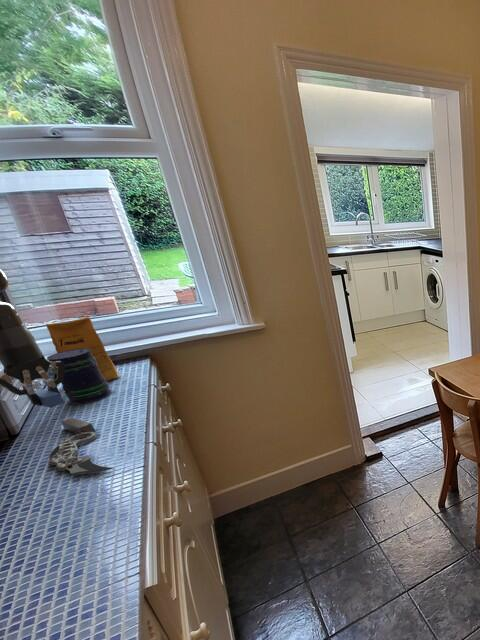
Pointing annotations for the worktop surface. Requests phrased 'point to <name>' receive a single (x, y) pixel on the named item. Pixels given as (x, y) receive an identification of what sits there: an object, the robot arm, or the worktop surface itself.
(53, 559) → the worktop surface
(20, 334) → the robot arm
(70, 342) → the coffee package
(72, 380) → the storage jar
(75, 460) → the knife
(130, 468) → the worktop surface
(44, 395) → the blue bar
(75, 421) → the walnut bar
